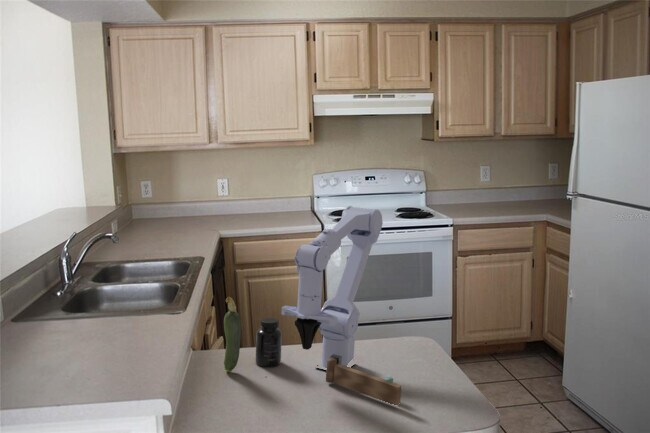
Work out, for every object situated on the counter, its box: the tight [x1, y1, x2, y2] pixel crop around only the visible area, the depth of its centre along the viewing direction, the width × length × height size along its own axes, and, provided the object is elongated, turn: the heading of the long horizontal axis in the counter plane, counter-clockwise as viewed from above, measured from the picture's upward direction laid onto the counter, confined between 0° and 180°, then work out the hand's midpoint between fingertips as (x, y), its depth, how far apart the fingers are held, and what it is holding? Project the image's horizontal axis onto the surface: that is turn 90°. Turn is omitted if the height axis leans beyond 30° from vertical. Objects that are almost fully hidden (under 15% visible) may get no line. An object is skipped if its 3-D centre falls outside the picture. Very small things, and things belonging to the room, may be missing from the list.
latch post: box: [384, 376, 394, 383], centre depth 139 cm, size 2×2×5 cm
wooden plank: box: [325, 358, 402, 406], centre depth 140 cm, size 21×2×6 cm, turn 52°
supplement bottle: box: [254, 317, 283, 369], centre depth 156 cm, size 7×7×12 cm
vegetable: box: [223, 296, 242, 373], centre depth 148 cm, size 4×4×20 cm
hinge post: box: [330, 354, 342, 365], centre depth 147 cm, size 2×2×6 cm
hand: (307, 348), depth 143 cm, fingers closed
